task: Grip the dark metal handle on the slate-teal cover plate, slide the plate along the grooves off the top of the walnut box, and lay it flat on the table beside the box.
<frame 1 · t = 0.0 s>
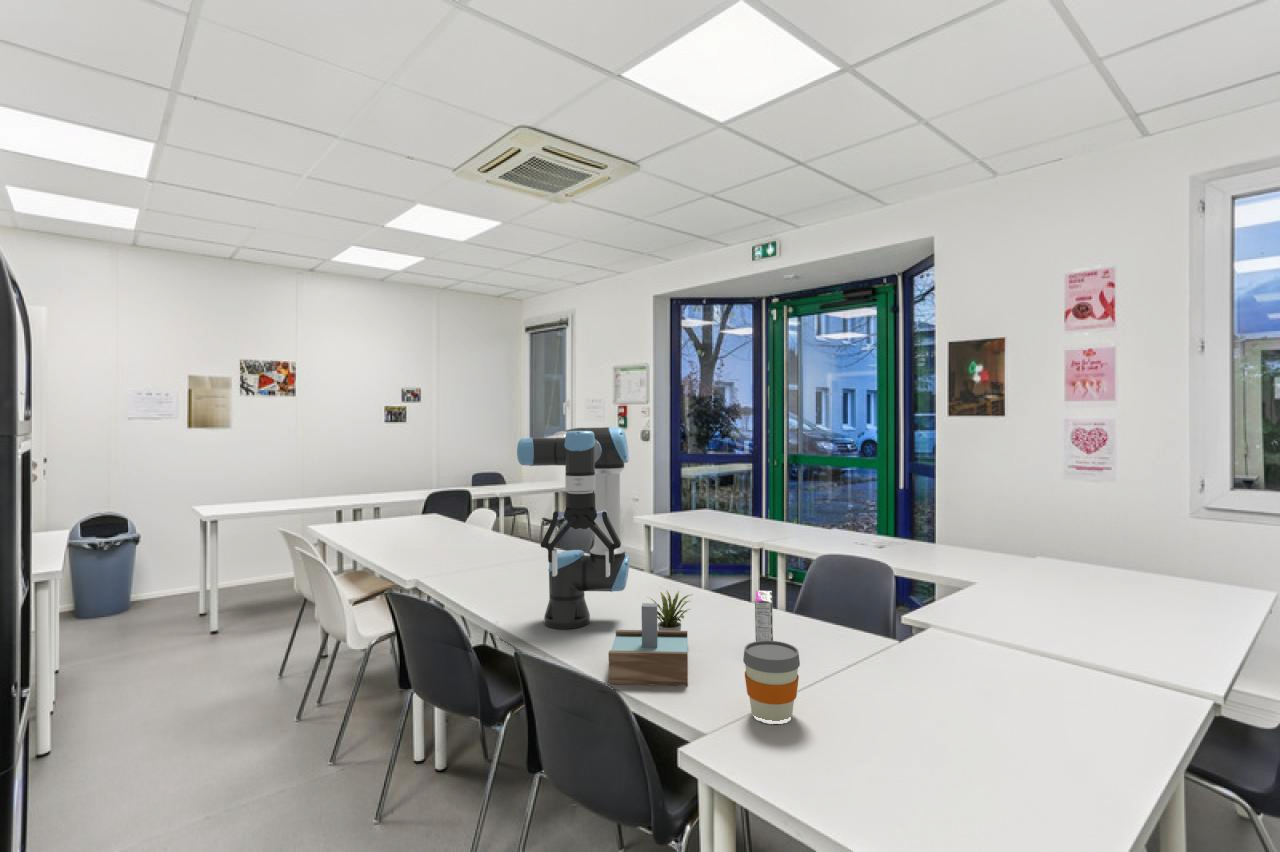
hand: (581, 575, 160), 28 cm above the table, tool pointing down, fingers open, 13 cm apart
reusable coffee cup: (771, 716, 144), on the table
cover plate: (649, 649, 169), point 6 cm above the table, touching walnut box
house plant: (674, 646, 188), on the table
walnut box: (650, 672, 169), on the table
candy bar box: (764, 652, 182), on the table
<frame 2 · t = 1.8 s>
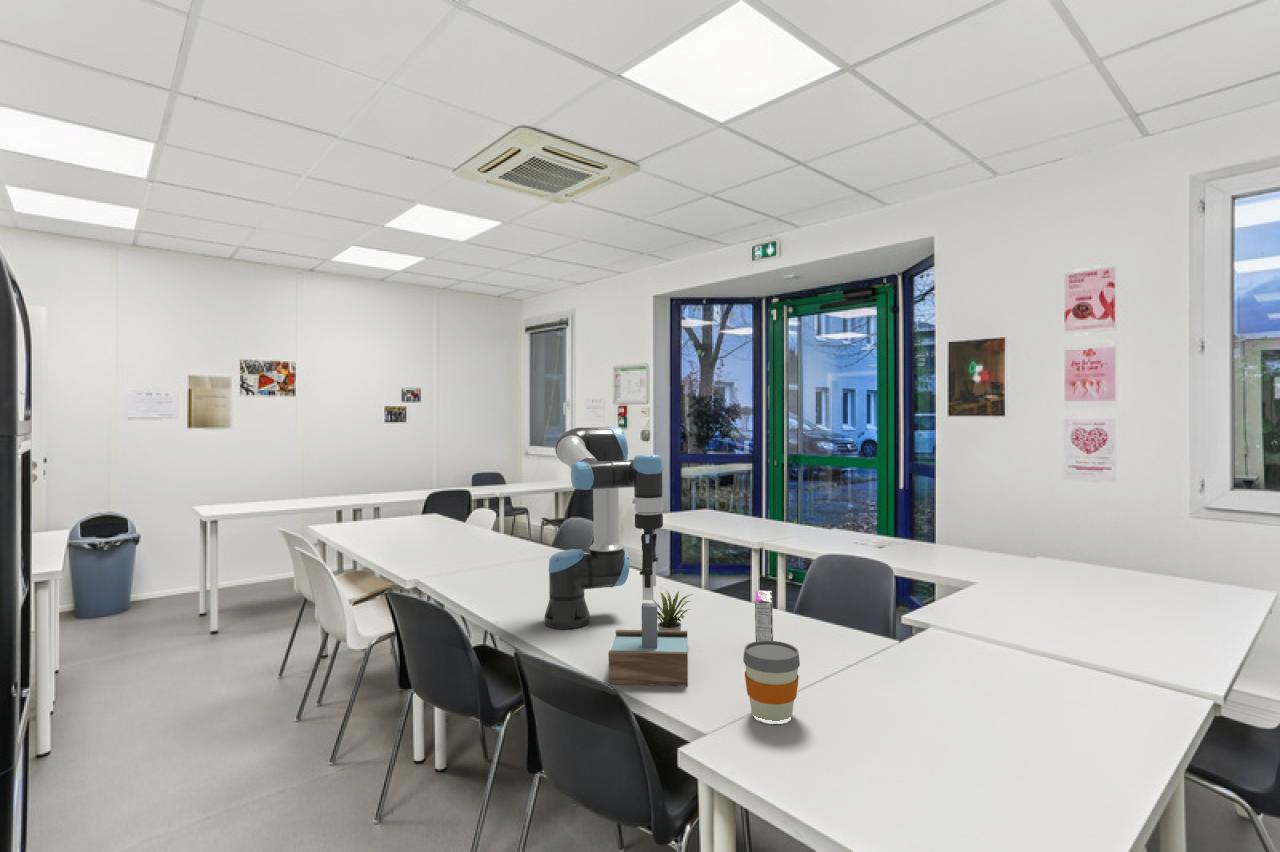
hand: (649, 592, 168), 21 cm above the table, tool pointing down, fingers open, 13 cm apart
nothing on the table moved.
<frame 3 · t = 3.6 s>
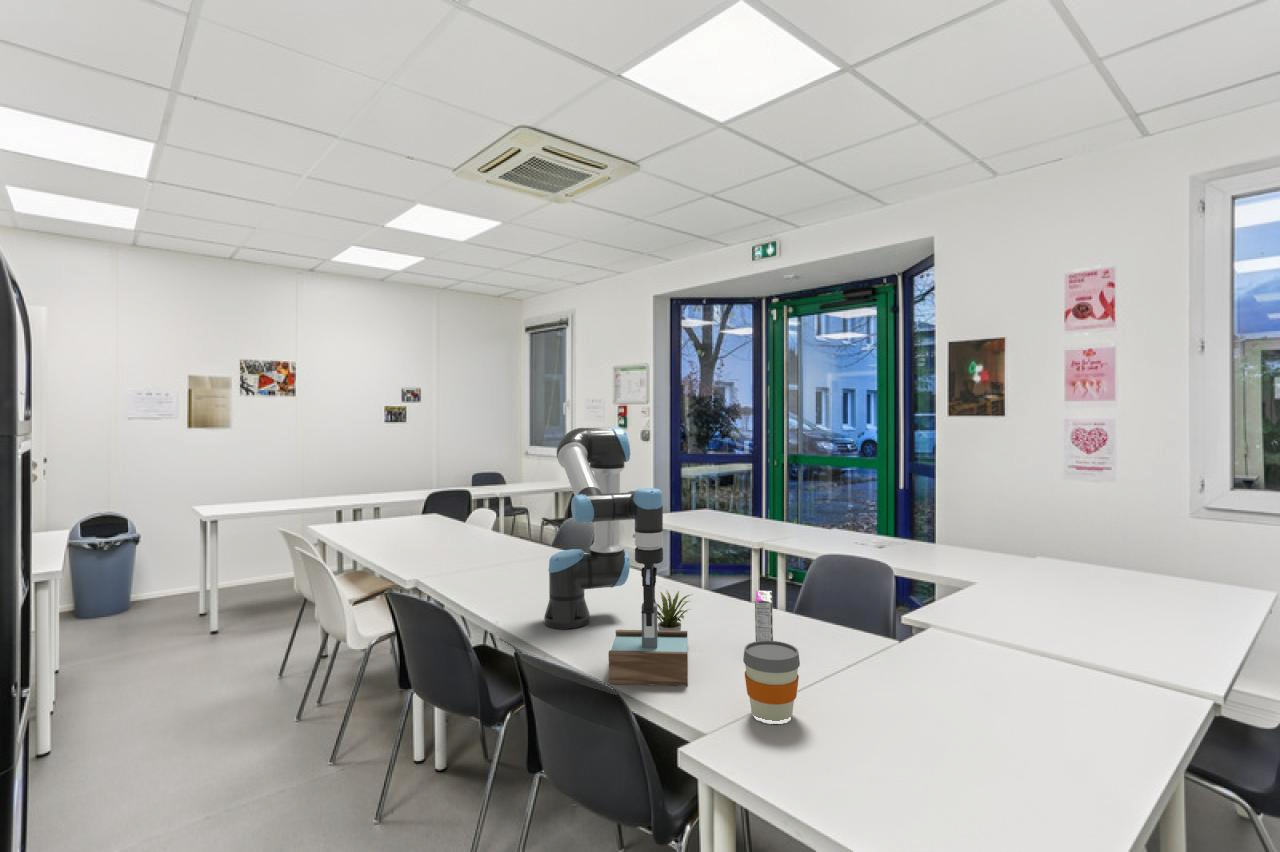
hand: (649, 634, 169), 10 cm above the table, tool pointing down, fingers closed on cover plate, 3 cm apart
cover plate: (649, 649, 169), point 6 cm above the table, touching gripper, walnut box
everything else where it was.
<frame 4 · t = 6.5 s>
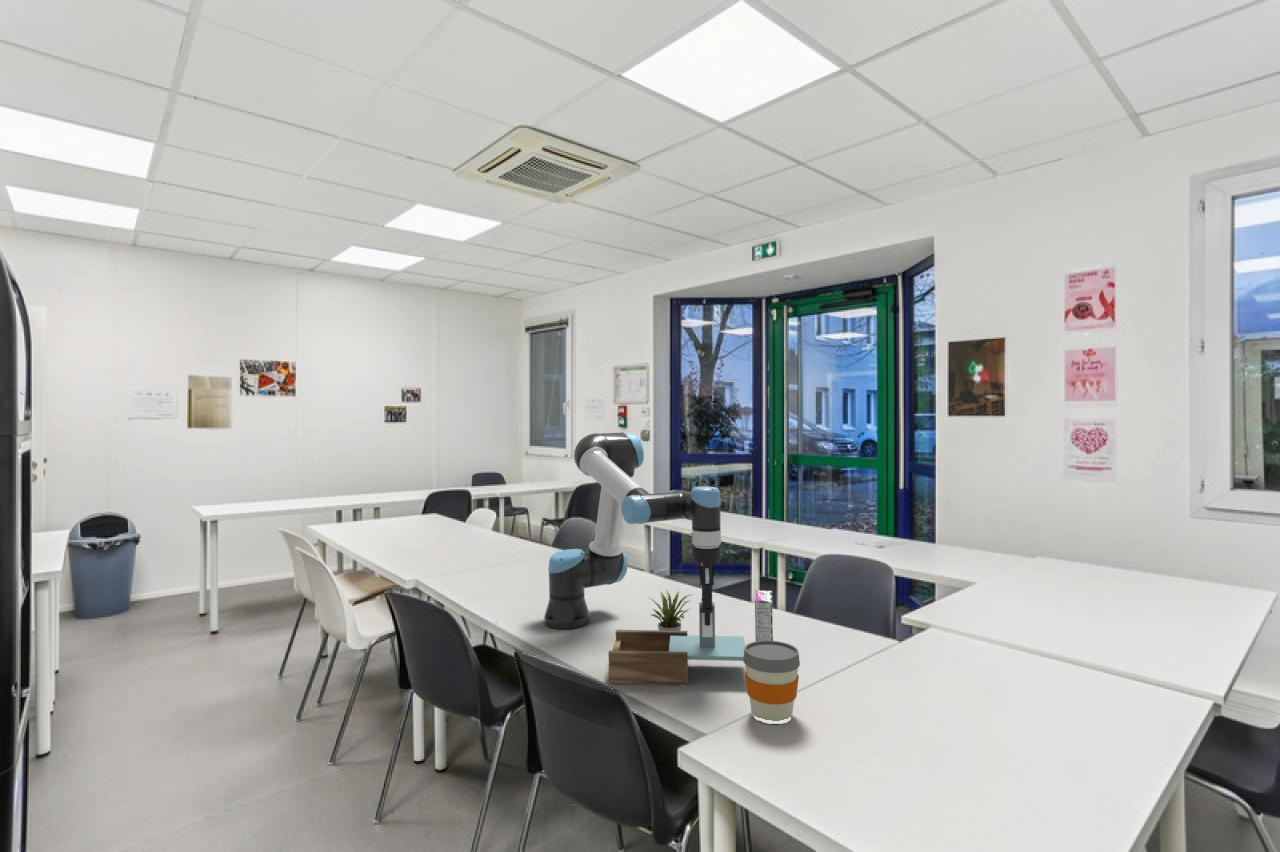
hand: (707, 634, 167), 10 cm above the table, tool pointing down, fingers closed on cover plate, 3 cm apart
cover plate: (707, 649, 167), point 6 cm above the table, touching gripper
everything else where it was.
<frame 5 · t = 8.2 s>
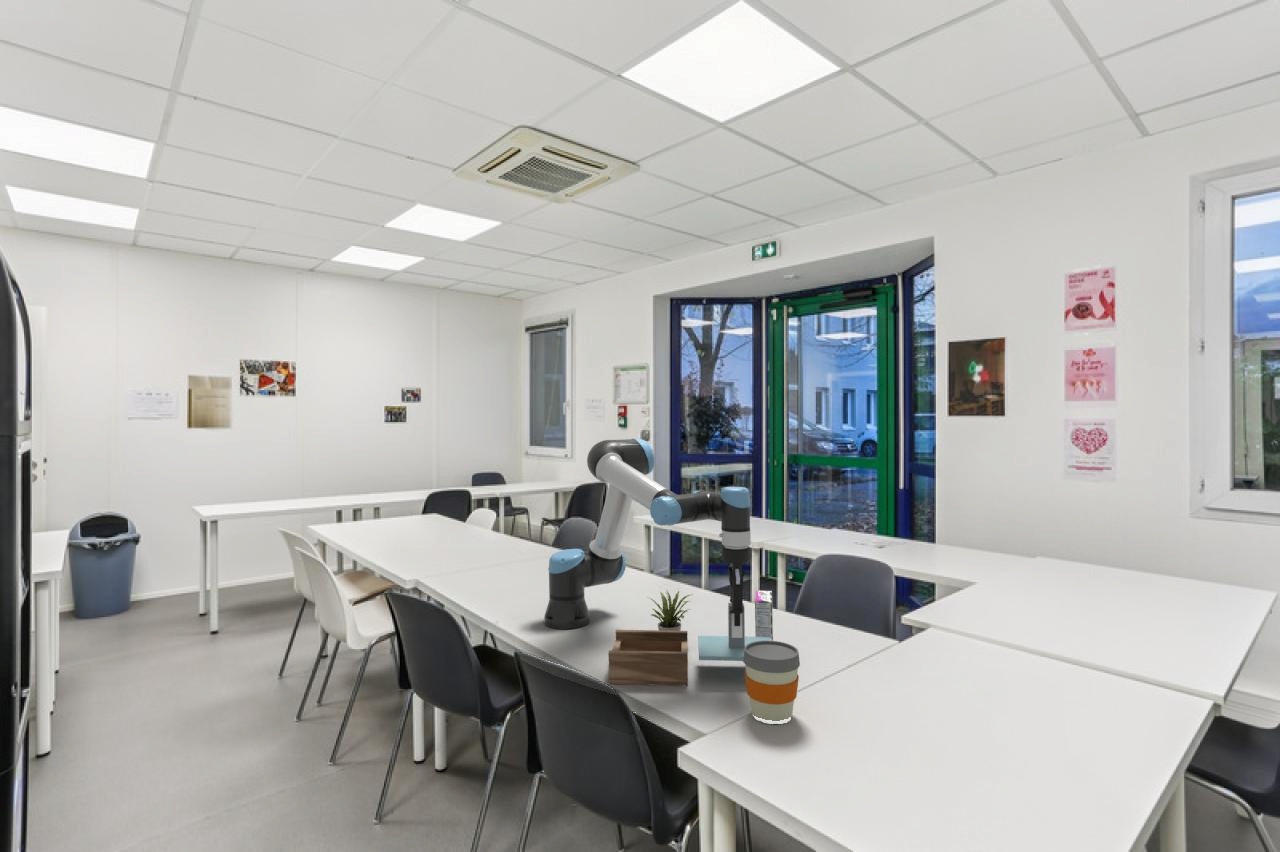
hand: (736, 634, 167), 10 cm above the table, tool pointing down, fingers closed on cover plate, 3 cm apart
cover plate: (736, 649, 167), point 6 cm above the table, touching gripper
everything else where it was.
when the fingers open (5 cm above the table, at t = 9.5 s): cover plate drops 2 cm, on the table.
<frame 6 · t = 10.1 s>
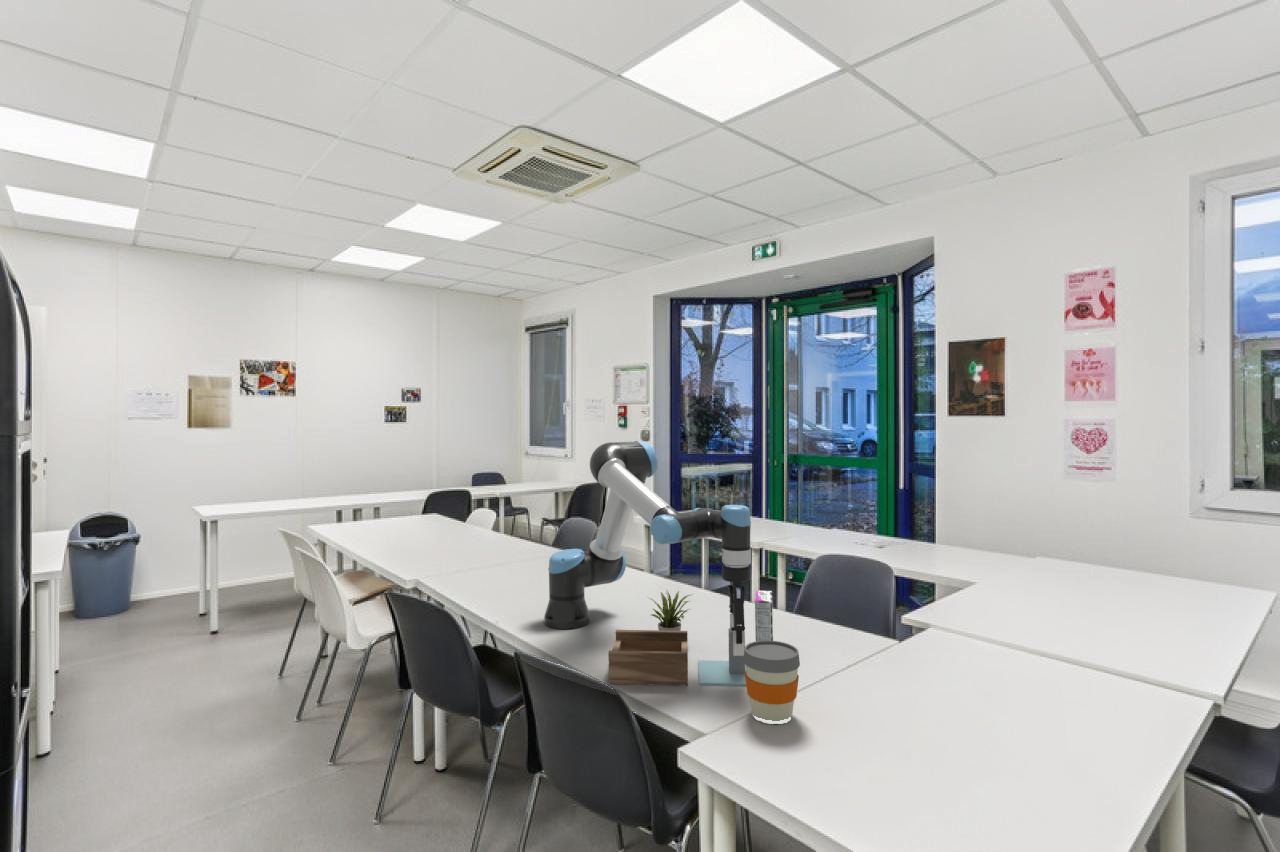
hand: (736, 646, 167), 7 cm above the table, tool pointing down, fingers open, 12 cm apart
cover plate: (736, 675, 167), on the table
everything else where it was.
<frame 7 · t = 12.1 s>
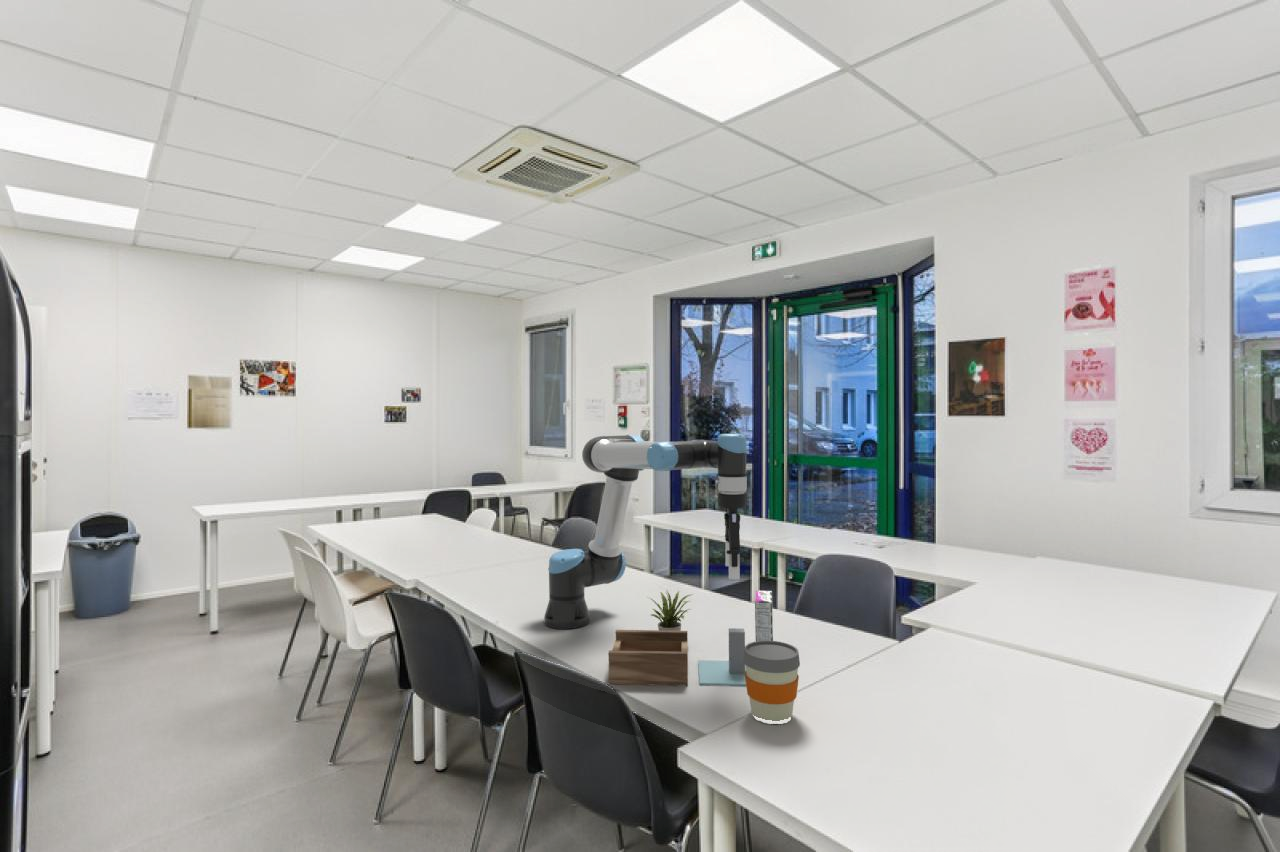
hand: (732, 572, 168), 27 cm above the table, tool pointing down, fingers open, 13 cm apart
nothing on the table moved.
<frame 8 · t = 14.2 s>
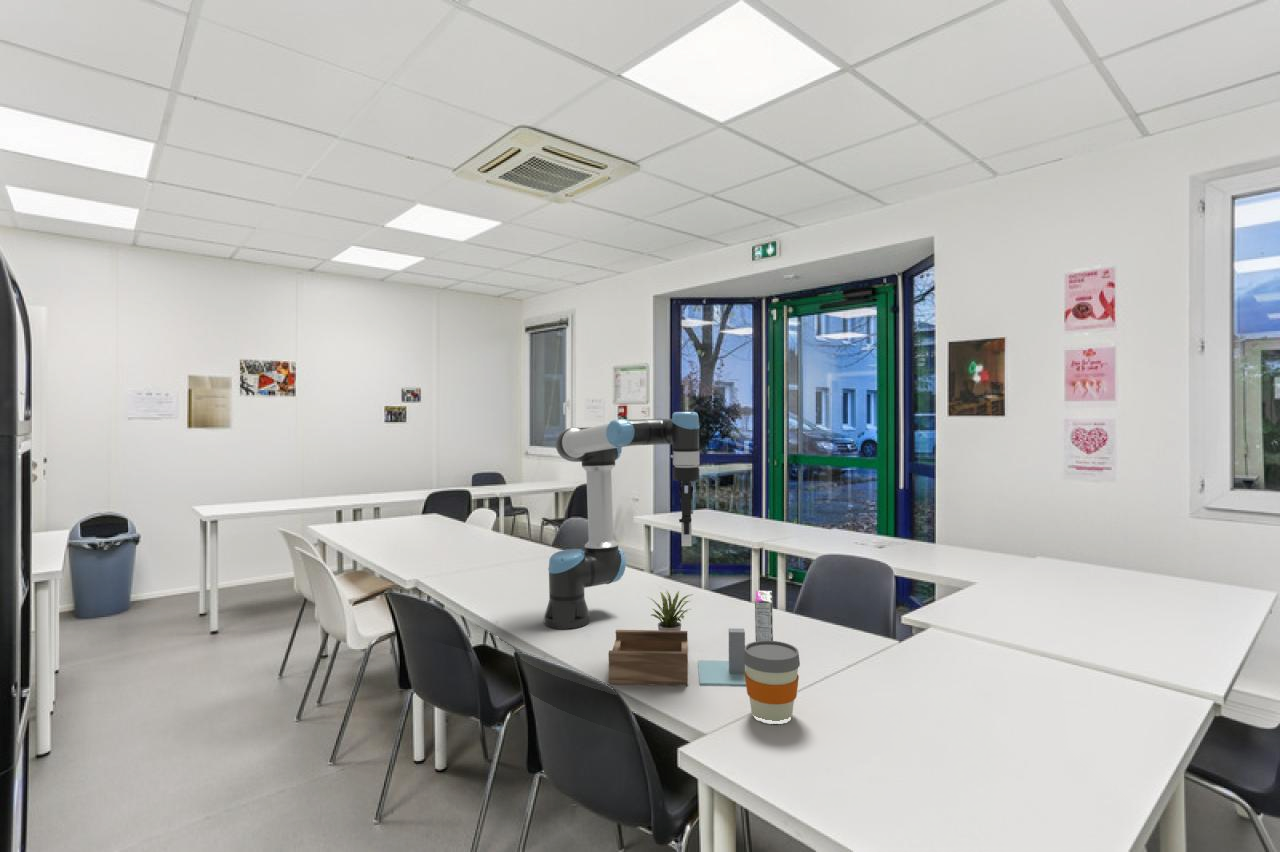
hand: (686, 541, 179), 33 cm above the table, tool pointing down, fingers open, 13 cm apart
nothing on the table moved.
at the end: cover plate inside the target area (0.1 cm from its centre), on the table; cover plate tilted 0°; cover plate touching table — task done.
